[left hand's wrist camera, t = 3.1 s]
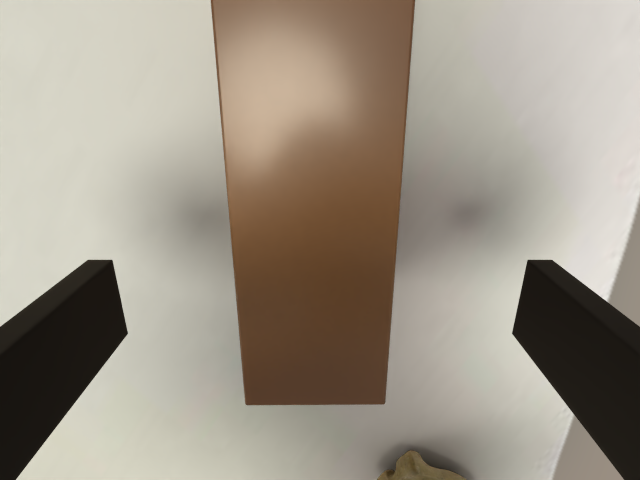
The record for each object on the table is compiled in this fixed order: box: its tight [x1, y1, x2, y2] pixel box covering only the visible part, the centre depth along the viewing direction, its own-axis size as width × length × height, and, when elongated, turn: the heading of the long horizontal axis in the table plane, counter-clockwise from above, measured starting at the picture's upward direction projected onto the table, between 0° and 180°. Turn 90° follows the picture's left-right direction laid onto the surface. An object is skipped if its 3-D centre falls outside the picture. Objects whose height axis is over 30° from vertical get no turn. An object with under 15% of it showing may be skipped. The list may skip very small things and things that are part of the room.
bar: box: [211, 0, 415, 405], centre depth 14 cm, size 23×5×9 cm, turn 0°
